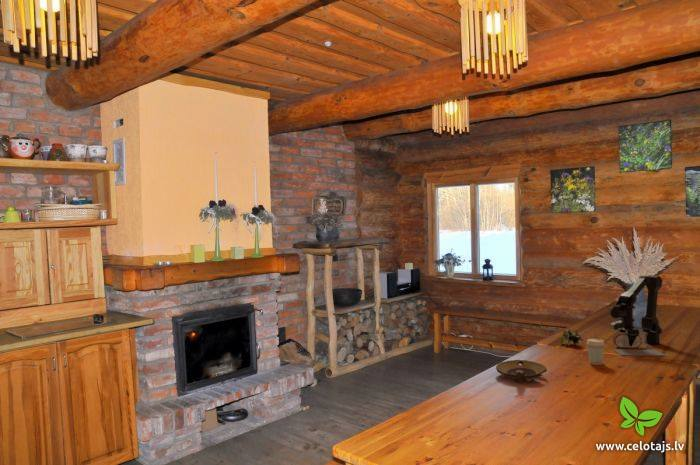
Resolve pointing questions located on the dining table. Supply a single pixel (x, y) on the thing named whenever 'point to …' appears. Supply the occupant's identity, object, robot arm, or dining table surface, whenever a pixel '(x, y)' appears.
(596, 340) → the coffee cup
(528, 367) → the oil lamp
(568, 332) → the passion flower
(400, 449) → the dining table surface
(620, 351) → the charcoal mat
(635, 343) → the tin
